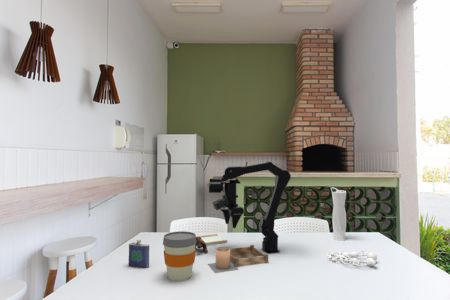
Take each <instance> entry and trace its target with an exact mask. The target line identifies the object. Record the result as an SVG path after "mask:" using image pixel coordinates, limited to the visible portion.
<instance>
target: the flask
mask: <svg viewBox="0 0 450 300" xmlns="http://www.w3.org/2000/svg"><path fill="white" fill-rule="evenodd" d="M128 267H131V268H138V269H139V268H140V269H141V268H142V269H147V268H149V267H150V244H148V243H142V240H141V239H137V240H136V242H135V241H134V242H130V243H129V244H128Z"/></svg>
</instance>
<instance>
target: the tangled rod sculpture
mask: <svg viewBox="0 0 450 300" xmlns="http://www.w3.org/2000/svg"><path fill="white" fill-rule="evenodd" d="M326 255H327V260H328V261H332V262H333V263H336V262H340V263H342V264H344V265H346V266H357V267H366V266H367V267H374V266H376V265H377V260H378V256H377V255H376V253H375V252H369V253H365V252H364V250H361V251H358V252H357V251H352V252H350V253H349V252H348V251H345V252H341V251H337V252H333V251H332V252H330V253H327V254H326ZM359 257H366V259H365V260H359V259H358V258H359ZM349 262H350V263H349Z"/></svg>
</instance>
